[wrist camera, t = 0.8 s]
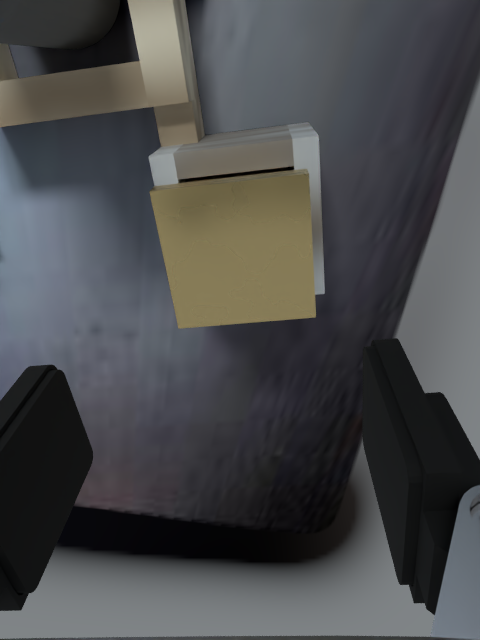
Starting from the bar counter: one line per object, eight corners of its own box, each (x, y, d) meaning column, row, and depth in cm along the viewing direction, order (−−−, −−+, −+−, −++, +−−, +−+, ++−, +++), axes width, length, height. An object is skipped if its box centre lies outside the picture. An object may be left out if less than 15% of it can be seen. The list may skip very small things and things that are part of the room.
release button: (175, 164, 24) (149, 191, 19) (299, 149, 23) (309, 173, 18) (195, 277, 27) (178, 328, 22) (306, 267, 26) (316, 317, 21)
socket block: (-96, -153, 21) (-213, -224, 16) (291, -232, 20) (300, -342, 14) (52, 279, 32) (10, 321, 27) (314, 254, 30) (324, 293, 25)
